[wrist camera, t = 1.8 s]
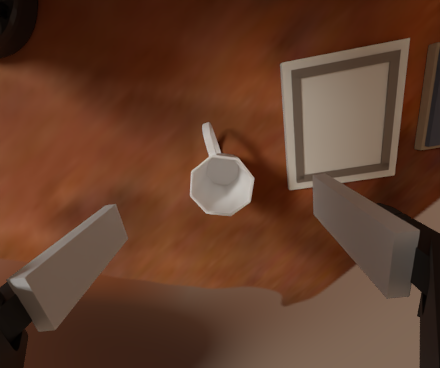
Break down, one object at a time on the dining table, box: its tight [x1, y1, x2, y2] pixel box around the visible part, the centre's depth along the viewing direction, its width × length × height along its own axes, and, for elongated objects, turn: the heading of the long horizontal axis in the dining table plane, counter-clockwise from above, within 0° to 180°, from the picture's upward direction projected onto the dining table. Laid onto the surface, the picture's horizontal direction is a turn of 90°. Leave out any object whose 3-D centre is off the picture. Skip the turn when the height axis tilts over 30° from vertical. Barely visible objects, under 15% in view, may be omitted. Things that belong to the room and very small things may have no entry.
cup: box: [190, 122, 255, 216], centre depth 24 cm, size 7×10×8 cm
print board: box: [280, 38, 410, 190], centre depth 26 cm, size 16×14×1 cm
